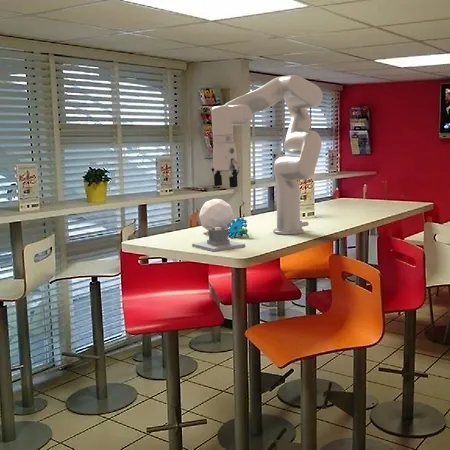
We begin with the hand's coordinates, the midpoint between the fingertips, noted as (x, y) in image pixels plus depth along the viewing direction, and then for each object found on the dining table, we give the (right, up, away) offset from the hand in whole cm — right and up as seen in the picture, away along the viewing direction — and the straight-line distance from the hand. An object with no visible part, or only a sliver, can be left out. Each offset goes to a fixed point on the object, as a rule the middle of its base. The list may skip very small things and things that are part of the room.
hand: (225, 186), depth 220 cm
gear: (+5, -19, +18) cm, 27 cm away
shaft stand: (-3, -22, -3) cm, 23 cm away
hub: (-3, -20, -3) cm, 20 cm away
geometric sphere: (-4, -18, +31) cm, 36 cm away
